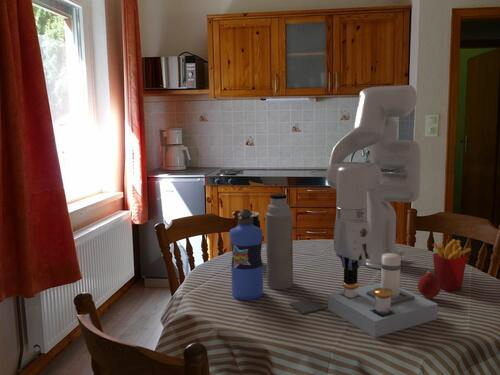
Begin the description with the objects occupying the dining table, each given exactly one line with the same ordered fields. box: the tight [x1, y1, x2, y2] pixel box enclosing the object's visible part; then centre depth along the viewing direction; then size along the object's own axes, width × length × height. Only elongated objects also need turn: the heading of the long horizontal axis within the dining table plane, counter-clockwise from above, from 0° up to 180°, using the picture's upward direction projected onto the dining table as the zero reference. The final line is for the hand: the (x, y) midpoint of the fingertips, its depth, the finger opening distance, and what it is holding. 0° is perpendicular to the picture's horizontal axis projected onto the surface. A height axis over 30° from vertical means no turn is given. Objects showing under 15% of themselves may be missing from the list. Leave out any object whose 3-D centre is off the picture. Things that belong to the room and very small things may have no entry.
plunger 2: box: [374, 288, 392, 317], centre depth 107 cm, size 4×4×7 cm
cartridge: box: [380, 253, 402, 300], centre depth 116 cm, size 5×5×15 cm
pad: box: [288, 298, 326, 315], centre depth 121 cm, size 7×7×1 cm
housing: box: [327, 282, 439, 339], centre depth 115 cm, size 20×18×5 cm
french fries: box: [432, 238, 472, 293], centre depth 130 cm, size 9×8×15 cm
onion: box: [417, 270, 442, 300], centre depth 123 cm, size 6×6×8 cm
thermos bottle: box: [265, 193, 294, 290], centre depth 136 cm, size 8×8×28 cm
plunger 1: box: [341, 280, 360, 300], centre depth 118 cm, size 4×4×7 cm
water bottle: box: [229, 208, 264, 301], centre depth 129 cm, size 9×9×25 cm
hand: (350, 282), depth 117 cm, fingers closed
